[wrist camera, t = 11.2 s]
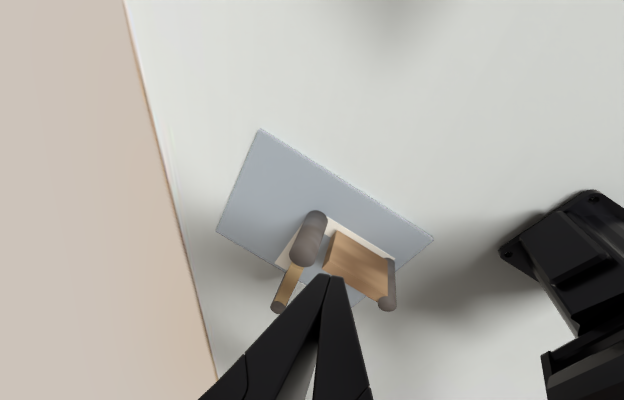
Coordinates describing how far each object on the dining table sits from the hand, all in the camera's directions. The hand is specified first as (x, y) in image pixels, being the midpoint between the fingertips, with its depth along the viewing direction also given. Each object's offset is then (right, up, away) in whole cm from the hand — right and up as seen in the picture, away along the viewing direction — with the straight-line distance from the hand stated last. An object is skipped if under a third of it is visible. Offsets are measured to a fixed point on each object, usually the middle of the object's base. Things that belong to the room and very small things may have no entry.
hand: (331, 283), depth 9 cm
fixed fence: (+3, 0, +13) cm, 13 cm away
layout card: (-1, 0, +13) cm, 13 cm away
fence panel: (-2, -2, +14) cm, 15 cm away
